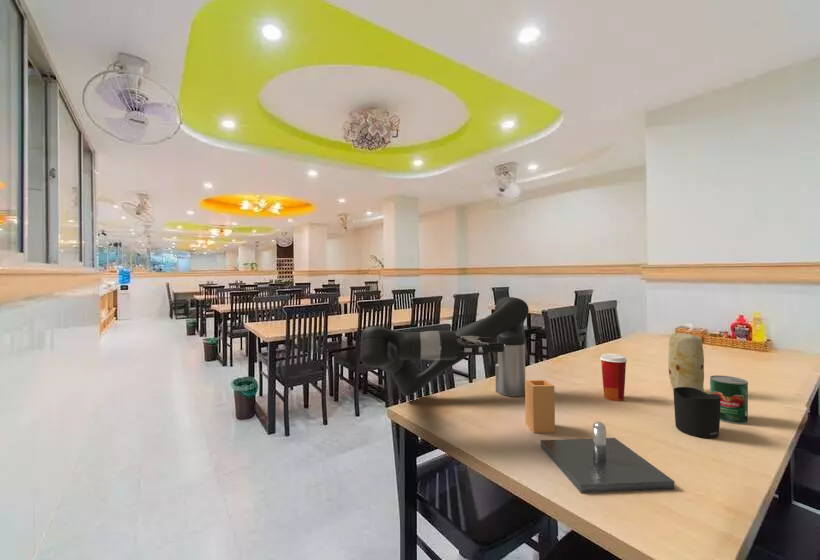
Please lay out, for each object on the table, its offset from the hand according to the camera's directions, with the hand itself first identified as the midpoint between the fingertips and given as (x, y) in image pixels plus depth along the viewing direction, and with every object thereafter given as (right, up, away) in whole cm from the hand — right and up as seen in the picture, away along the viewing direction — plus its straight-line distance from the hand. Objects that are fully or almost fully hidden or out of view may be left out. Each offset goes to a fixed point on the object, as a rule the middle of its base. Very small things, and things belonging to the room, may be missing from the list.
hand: (498, 344), depth 93 cm
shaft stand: (+17, -22, -18) cm, 33 cm away
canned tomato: (+66, -22, +5) cm, 69 cm away
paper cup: (+44, -22, +23) cm, 54 cm away
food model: (+71, -22, +28) cm, 79 cm away
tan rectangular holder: (+11, -23, +1) cm, 25 cm away
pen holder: (+50, -22, -2) cm, 55 cm away
